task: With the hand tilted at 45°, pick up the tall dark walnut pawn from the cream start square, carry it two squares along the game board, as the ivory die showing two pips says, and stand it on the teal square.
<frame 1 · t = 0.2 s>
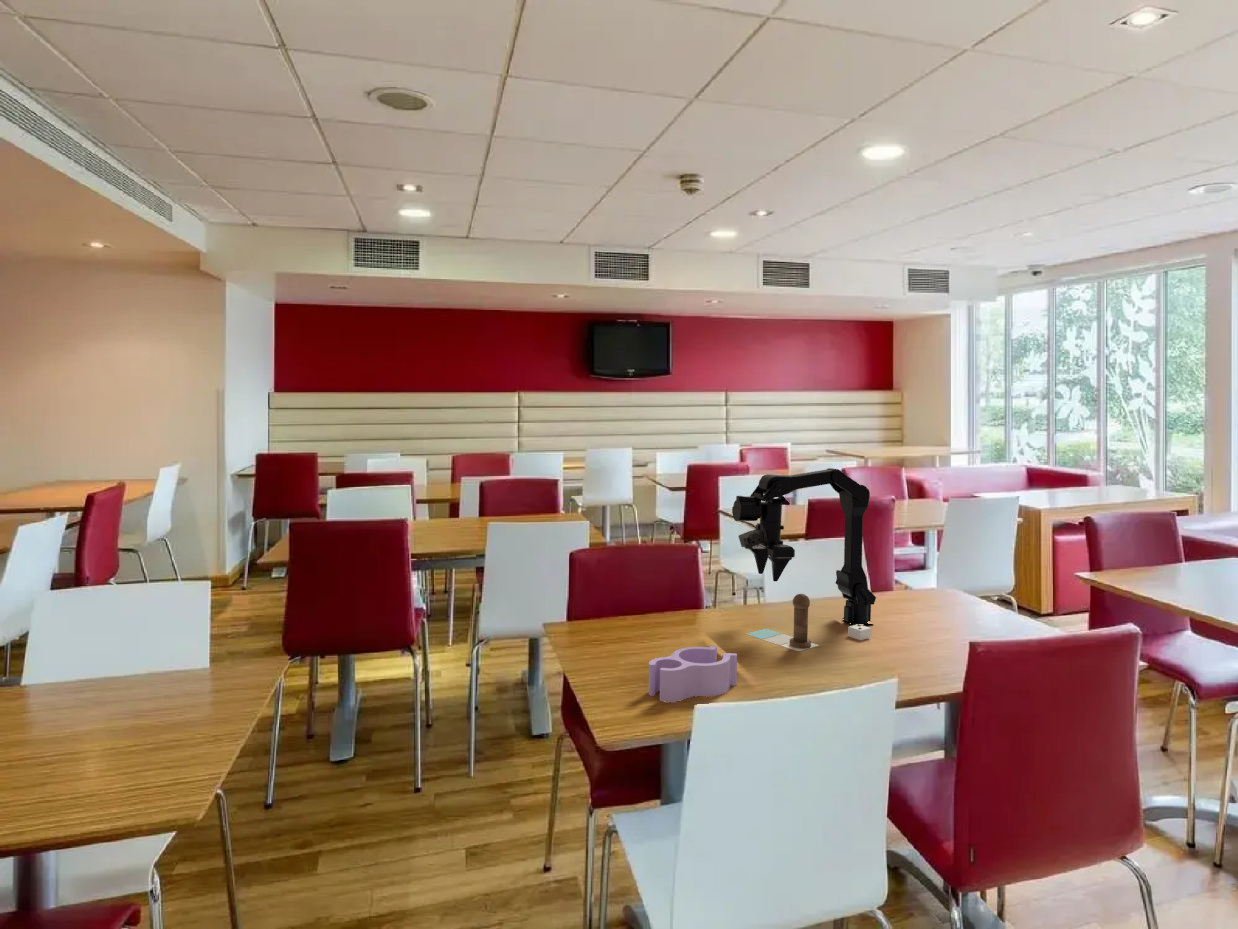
hand: (767, 577, 203), 14 cm above the table, tool pointing down, fingers open, 9 cm apart
die: (859, 642, 194), on the table
board: (781, 644, 191), on the table
pawn: (800, 645, 186), point 1 cm above the table, touching board
clip: (691, 690, 161), on the table
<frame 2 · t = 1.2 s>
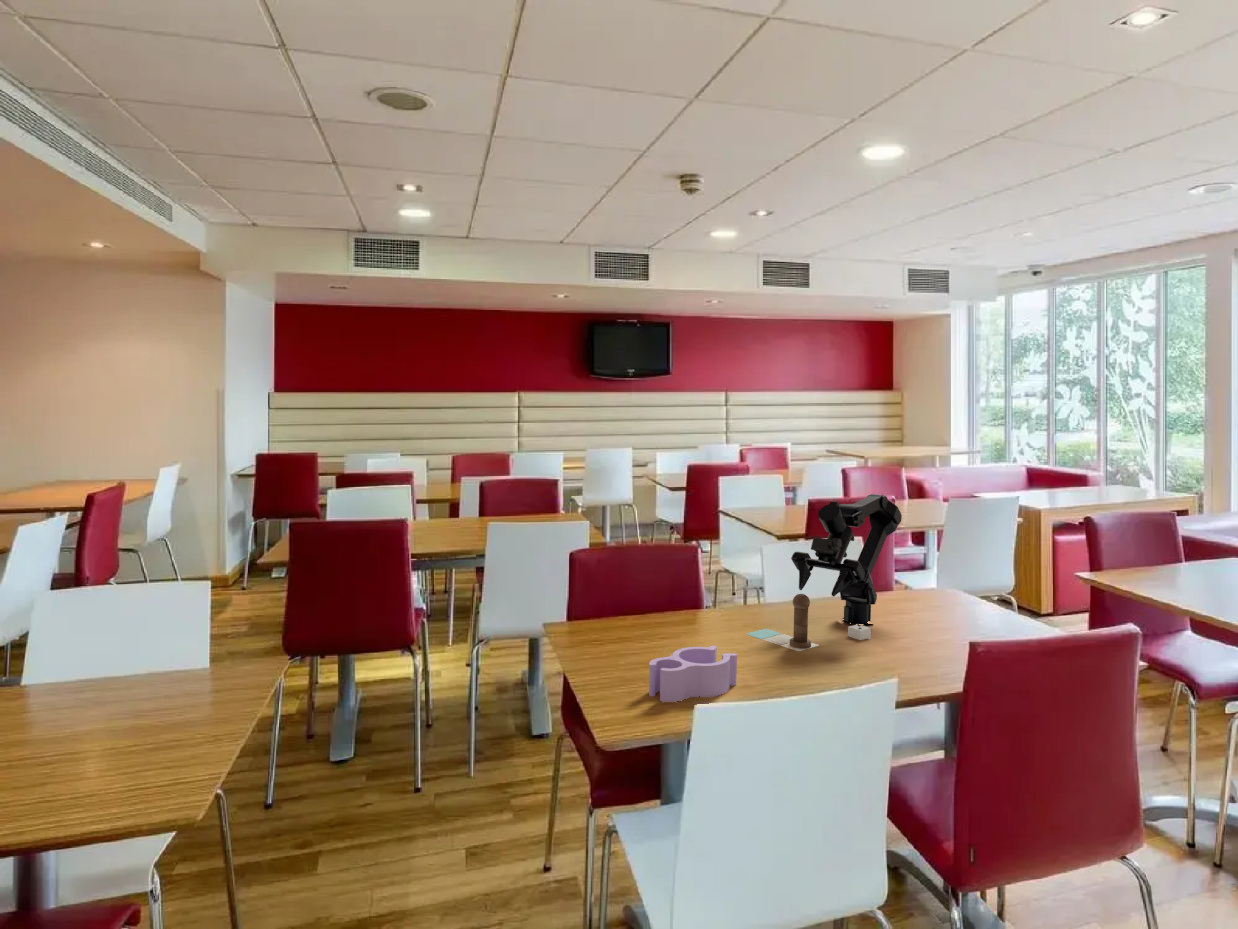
hand: (816, 592, 192), 13 cm above the table, tool tilted 45°, fingers open, 9 cm apart
nothing on the table moved.
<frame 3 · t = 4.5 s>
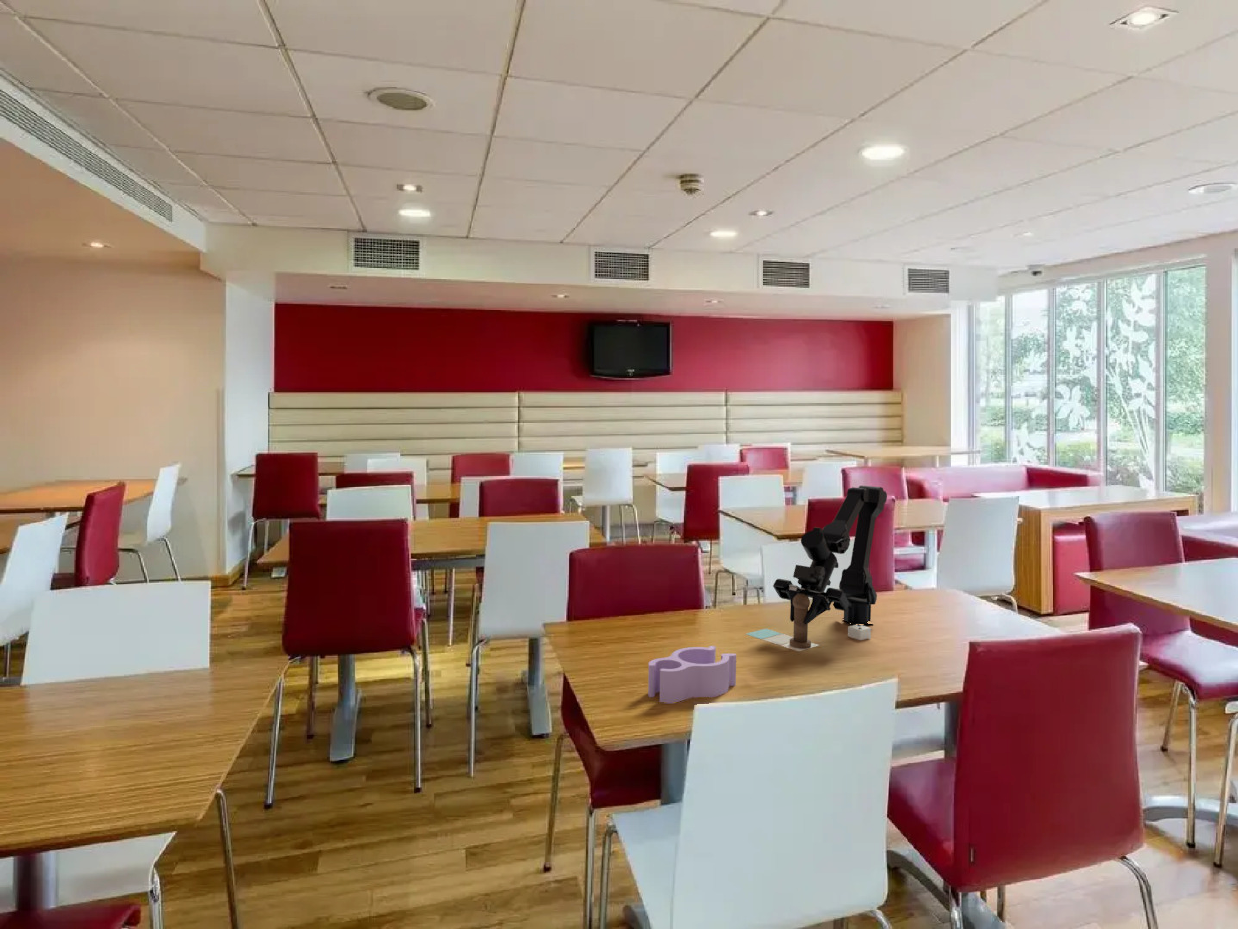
hand: (798, 622, 185), 8 cm above the table, tool tilted 45°, fingers closed on pawn, 3 cm apart
pawn: (800, 645, 186), point 1 cm above the table, touching board, gripper
everything else where it was.
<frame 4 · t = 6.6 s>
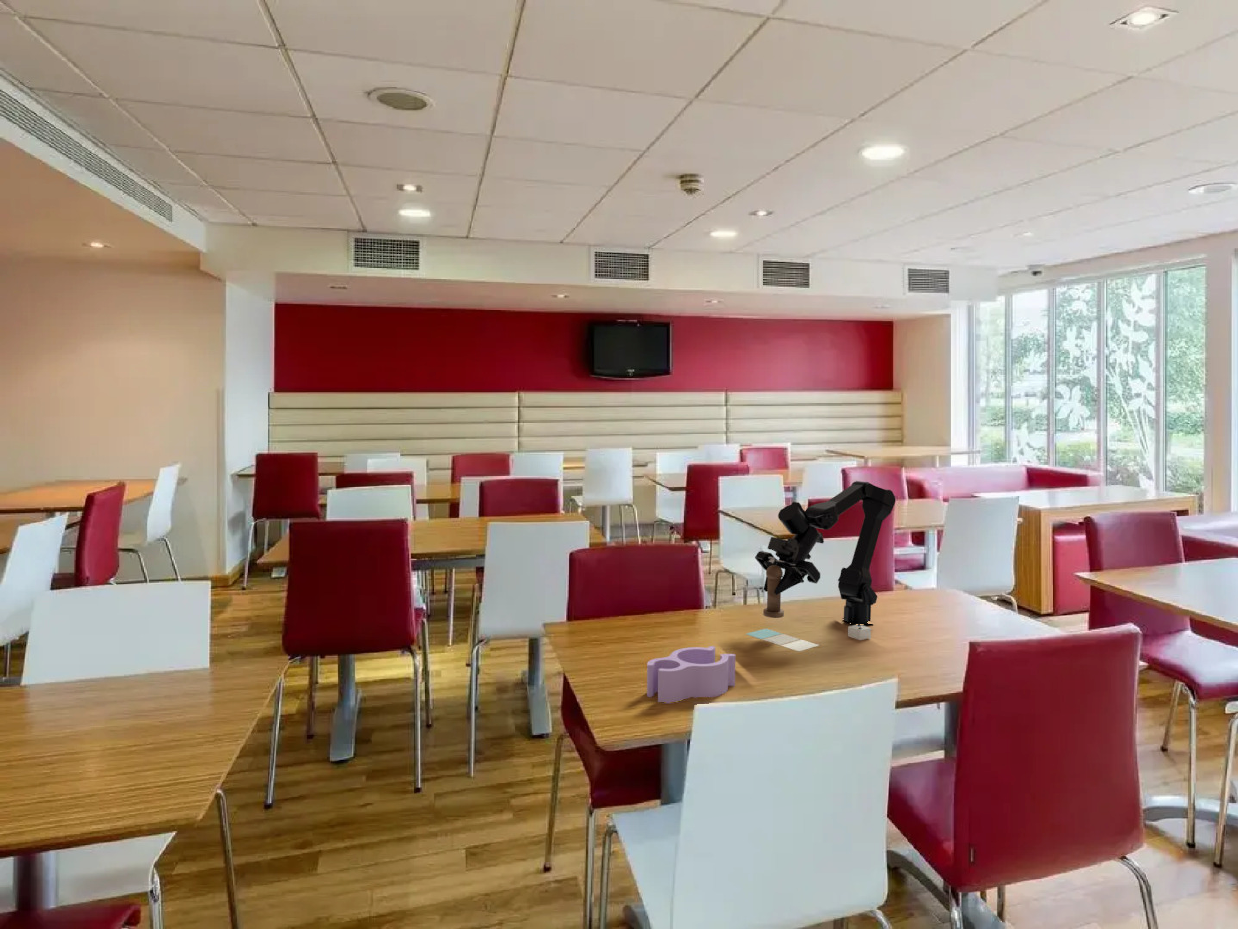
hand: (770, 592, 191), 13 cm above the table, tool tilted 45°, fingers closed on pawn, 3 cm apart
pawn: (773, 615, 192), point 7 cm above the table, touching gripper
everything else where it was.
when the fingers open (9 cm above the table, at t = 8.7 s): pawn drops 1 cm, resting on board.
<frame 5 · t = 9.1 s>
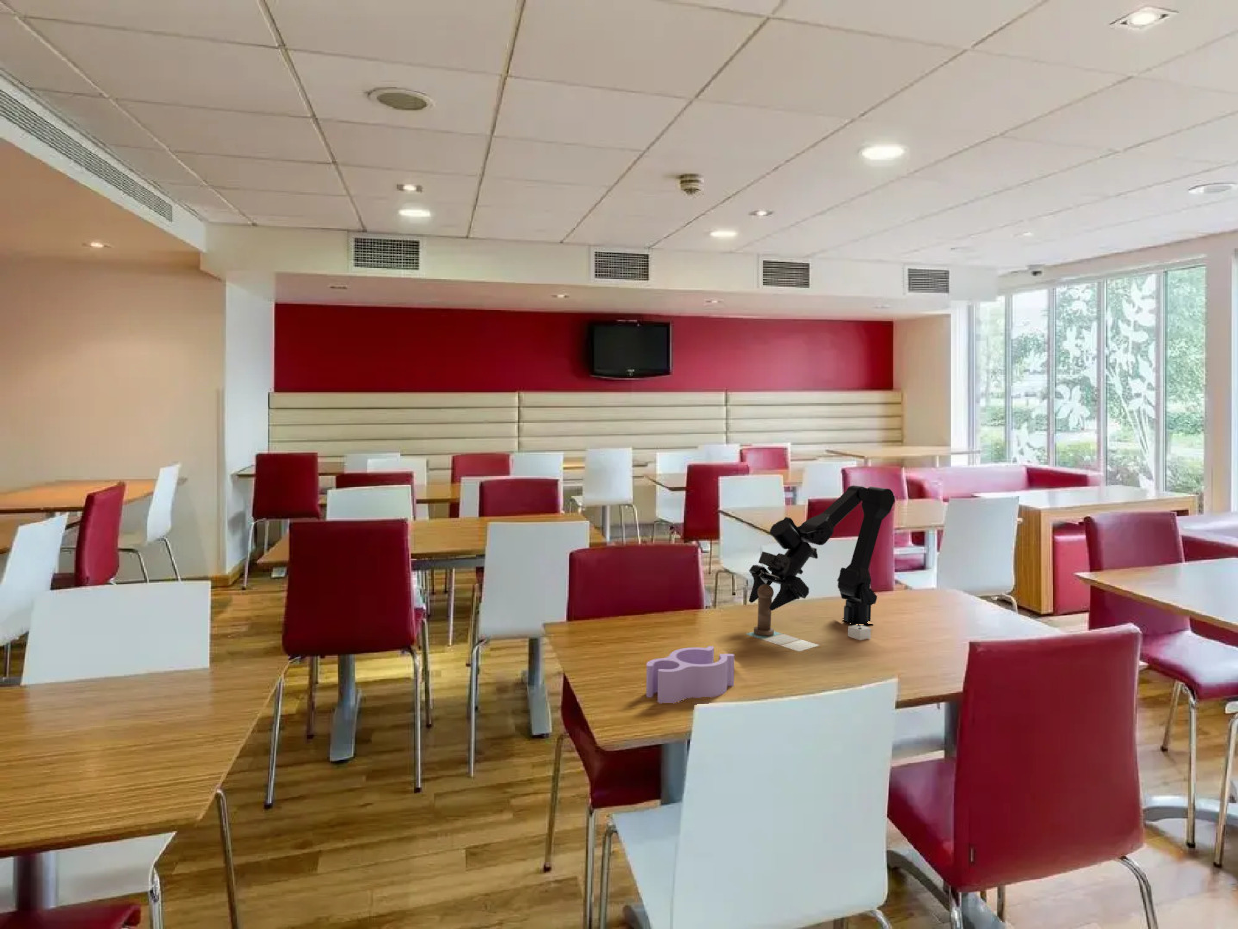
hand: (760, 605, 195), 9 cm above the table, tool tilted 45°, fingers open, 8 cm apart
pawn: (763, 633, 196), point 1 cm above the table, touching board
everything else where it was.
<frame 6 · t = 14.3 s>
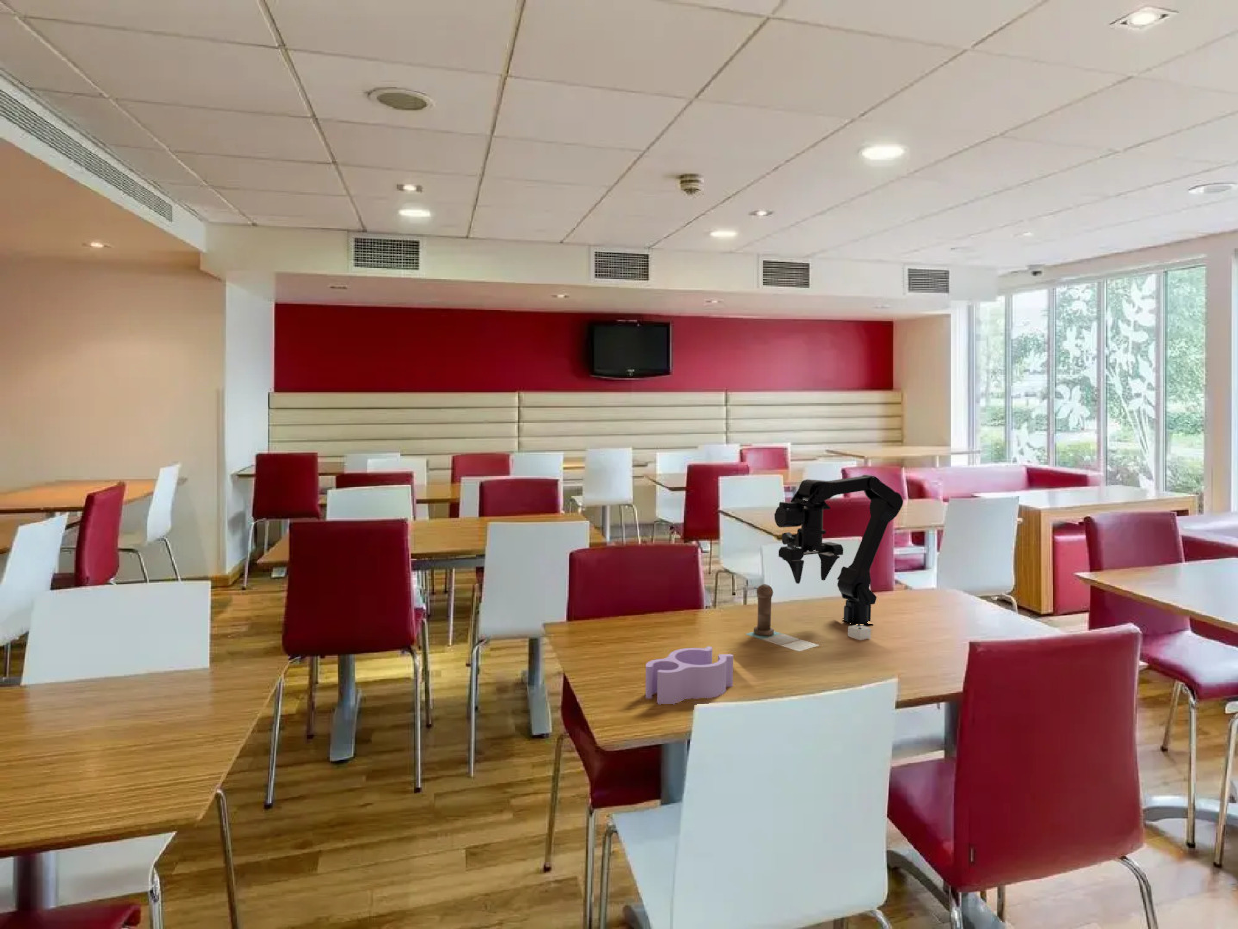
hand: (810, 581, 205), 13 cm above the table, tool pointing down, fingers open, 9 cm apart
at the end: pawn 0.1 cm from the target spot, point 1.4 cm above the table; pawn tilted 1°; the gripper is holding nothing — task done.
